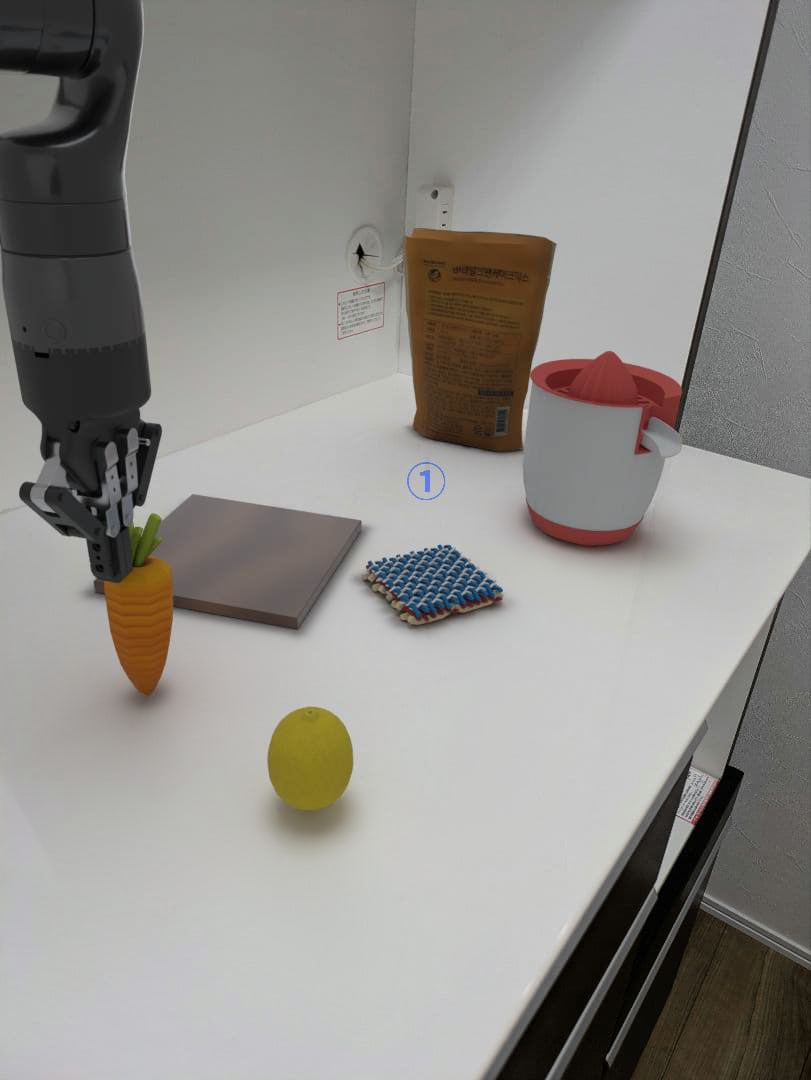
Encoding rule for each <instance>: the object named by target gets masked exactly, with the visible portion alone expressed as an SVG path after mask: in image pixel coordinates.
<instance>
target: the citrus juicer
mask: <svg viewBox="0 0 811 1080" xmlns="http://www.w3.org/2000/svg"><path fill="white" fill-rule="evenodd" d="M530 379H531V388H530V396H529V403H528V410H527V411H528V412H527V420H526V428H525V436H524V443H523V453H522V454H523V456H522V477H523V478H522V479H523V487H524V492H525V502H526V505H527V509H528V513H529V516H530V518H531V522H532V523H533V524H534V526H535V527H537V528H538V529H539V530H540V531H542V532H544V533H545V534H547V535H549V536H551V537H553V538H556V539H559V540H562V541H565V542H569V543H573V544H578V545H580V546H584V547H591V546H603V545H604V546H605V545H611V544H617V543H620V542H622V541H624V540H625V541H626V540H627V539H629V538H630V537H631V536H632V535H633V533H634V532H635V531H636V529H637V528H638V527H639V526H640V524H641V523H642V521H643V520H644V517H645V514H646V512H647V510H648V509H649V507H650V505H651V503H652V501H653V499H654V496H655V494H656V491H657V489H658V487H659V484H660V480H661V477H662V473H663V469H664V466H665V462H666V459H668V458H669V459H670V458H673V457H675V456H677V455H679V454H680V452H681V451H682V448H683V438H682V436H681V435H680V434H679V433H678V431H676V430H675V426H676V425H675V424H676V420H677V416H678V412H679V406H680V402H681V399H682V395H683V389H682V386H681V384H680V383H679V382H678V381H676V380H675V379H674V378H673V377H670V376H669V375H666V374H665V373H662V372H660V371H657V370H655V369H651V368H648V367H644V366H641V365H637V364H632V363H627V362H623V361H622V359H621V358H620V357H619V356H618V355H617V354H616V353H615V352H614V351H612V350H606V351H604V352H603V353H601V354H600V355H598V356H597V357H595V358H568V359H567V358H565V359H557V360H551V361H547V362H544V363H541V364H538V365H536V366H535V367H534V368H532V369H531V373H530Z"/></svg>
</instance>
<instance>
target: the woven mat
mask: <svg viewBox="0 0 811 1080" xmlns="http://www.w3.org/2000/svg"><path fill="white" fill-rule="evenodd" d="M462 554H463V552H462V551H461V552H459V550H457V549H456V547H455V546H454V547H452V545H451V544H445V545H442V544H441V543H440V544H437V547H431V548H428V547H425V548H423V550H418V551H416V552H415V551H414V550H412V551H409V554H408V553H407V554H406V553H405V554H402V556H401V554H400V553H399V554H396V555H395V557H389V558H388V559H387V557H386V556H384V557H382V558H381V560H376V561H374V563H373V561H372V560H368V561H367V564H366V565H365V572H366V573H364V574H361V578H362V580H363V581H365V580H368V581H370V582H371V583H373V582H374V583H373V584H372V586H371V588H372V591H373V592H379V593H381V594H383V595H386V596H385V598H386V600H387V601H388V602H391V603H390V605H391V607H392V609H396V610H398V612H400V611H402V612H403V611H406V612H404V613H401V614H399V618H400V620H401V621H407V622H408V623H409V624H411V625H417V626H420V625H423V624H427V623H432V622H435V621H439V620H442V619H444V618H446V617H448V616H450V614H451V613H452V614H457V613H468V612H471V611H474V610H477V609H481V608H483V607H486V606H489V605H492V604H493V603H494V602H501V601H503V599H504V594H503V591H504V589H503V588H502V586H500V585H499V584H497V582H498V581H497V580H496V579H492V578H491V577H487V575H488V573H487V572H486V571H482V570H480V567H479V566H475V564H474V563H473V562H471V561H472V560H471V558H467V557H465V556H463V555H462Z"/></svg>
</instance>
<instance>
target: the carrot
mask: <svg viewBox="0 0 811 1080" xmlns="http://www.w3.org/2000/svg"><path fill="white" fill-rule="evenodd" d="M162 520H163V519H162V517H161V516H159V514H158V513H155V512H154V513H153V512H152V513H151V514H149V516H148V518H147V520H146V522H145V525H144V528H143V527H141V526H135V524H134V520H133V521H132V523H131V525H130V526H128V527H129V535H130V543H131V547H130V548H131V551H132V565H133V570H132V572H131V573H130V574H129V575H128V576H126V577H125V578H124V579H123V580H122V581H121V582H120V583H114V582H108V581H104V589H105V594H104V595H105V596H104V597H105V605H106V612H107V619H108V626H109V632H110V636H111V638H112V642H113V646H114V649H115V653H116V655H117V658H118V661H119V664H120V667H121V668H122V670H123V672H124V673H125V675H126V677H127V678H128V680H129V681H130V682H131V684H132V685H133V686H134V688H135V689H136V690H137V692H139V693H140V694H142V695H143V696H146V697H148V696H149V695H151V694H152V693H153V692H154V691H155V689H156V687H157V686H158V684H159V681H160V680H161V678H162V675H163V673H164V669H165V667H166V664H167V659H168V654H169V650H170V649H169V648H170V642H171V636H172V630H173V629H172V628H173V622H174V621H173V620H174V606H173V573H172V569H171V566H170V565H169V564H168V563H167V562H165V561H163V560H161V559H158V558H156V557H154V556H151V555H150V554H151V553H152V552H153V551H154V550H155V548H156V547H157V546H158V545H159V544H160V543H161V541H162V539H161V538H160V537H156V538H154V537H155V535H156V533H157V531H158V528H159V526H160V523H161V521H162Z"/></svg>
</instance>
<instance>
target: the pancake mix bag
mask: <svg viewBox="0 0 811 1080" xmlns="http://www.w3.org/2000/svg"><path fill="white" fill-rule="evenodd" d="M557 245H558V243H556V242H555V241H553V240H551V239H549V238H547V237H546V236H540V235H532V234H524V233H513V232H512V233H511V232H498V231H482V230H481V231H476V230H475V231H463V230H462V231H461V230H460V231H457V230H450V229H436V228H427V227H413V229H412V233H411V236H410V235H407V234H403V239H402V249H401V251H402V252H401V253H402V254H401V255H402V256H401V258H402V263H403V270H404V273H403V274H404V290H405V291H404V292H405V293H404V295H405V312H406V317H407V331H408V332H407V333H408V340H409V350H410V358H411V370H412V371H411V373H412V374H411V375H412V386H413V392H414V399H415V406H416V409H415V413H414V417H413V421H412V429H414V430H415V431H416V432H417V434H419V435H420V436H421V437H424V438H426V439H430V440H434V441H440V442H446V443H451V444H456V445H461V446H462V445H463V446H467V447H473V448H477V449H482V450H487V451H490V452H495V453H505V452H514V451H517V450H521V449H522V450H523V449H524V443H523V442H524V441H523V415H524V407H525V401H526V398H527V395H528V391H529V384H530V379H531V378H530V374H531V371H532V366H533V360H534V356H535V352H536V351H537V346H538V342H539V337H540V333H541V328H542V323H543V318H544V311H545V304H546V298H547V293H548V290H549V287H550V284H551V278H552V269H553V265H554V259H555V253H556V248H557Z"/></svg>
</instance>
